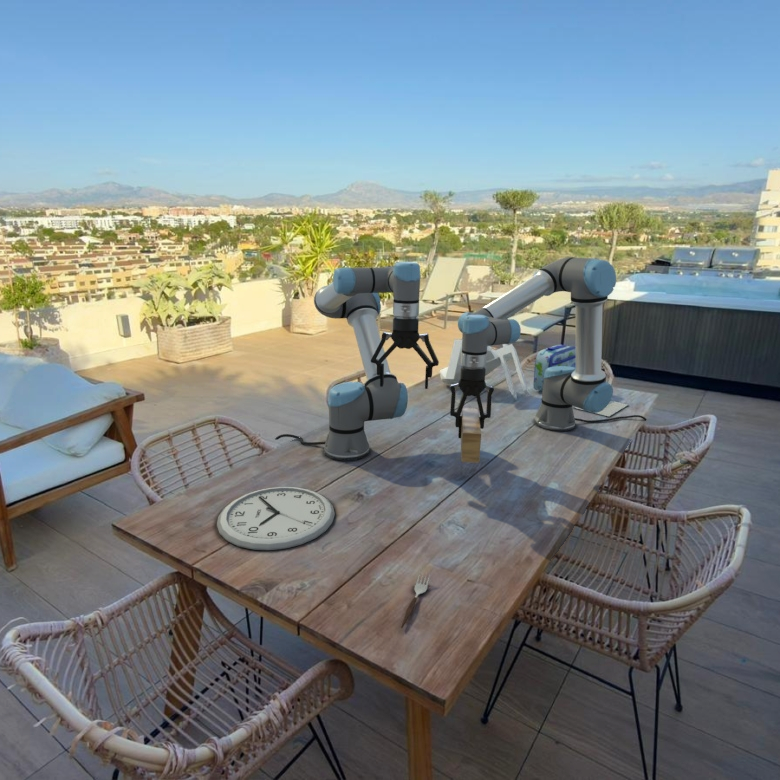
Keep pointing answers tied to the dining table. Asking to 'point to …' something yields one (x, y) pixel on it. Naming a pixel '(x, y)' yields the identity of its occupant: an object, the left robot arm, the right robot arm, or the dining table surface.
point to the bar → (470, 435)
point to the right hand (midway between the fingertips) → (468, 436)
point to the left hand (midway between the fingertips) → (404, 386)
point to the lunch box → (552, 361)
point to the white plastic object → (492, 362)
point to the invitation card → (610, 408)
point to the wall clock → (275, 518)
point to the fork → (419, 589)
